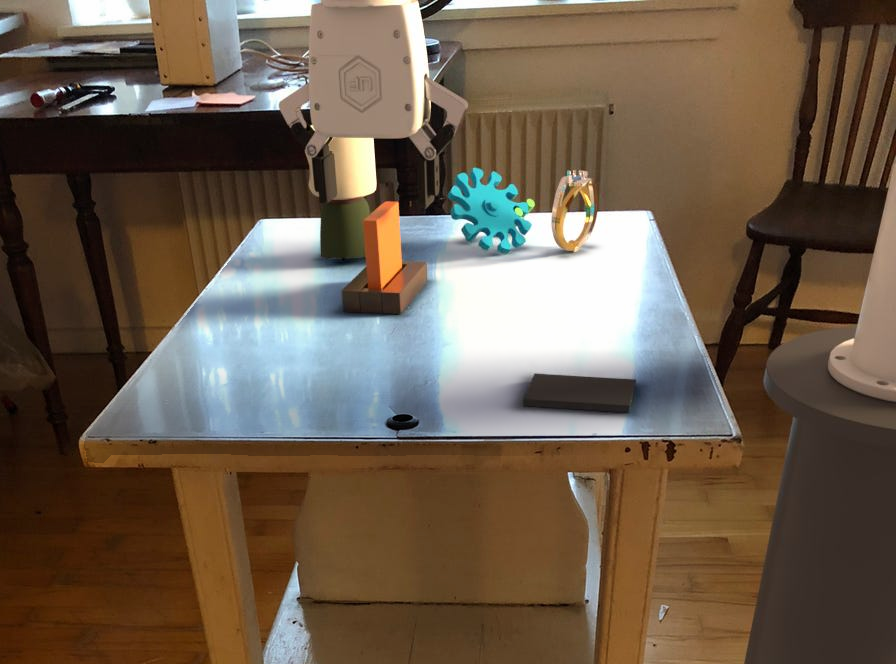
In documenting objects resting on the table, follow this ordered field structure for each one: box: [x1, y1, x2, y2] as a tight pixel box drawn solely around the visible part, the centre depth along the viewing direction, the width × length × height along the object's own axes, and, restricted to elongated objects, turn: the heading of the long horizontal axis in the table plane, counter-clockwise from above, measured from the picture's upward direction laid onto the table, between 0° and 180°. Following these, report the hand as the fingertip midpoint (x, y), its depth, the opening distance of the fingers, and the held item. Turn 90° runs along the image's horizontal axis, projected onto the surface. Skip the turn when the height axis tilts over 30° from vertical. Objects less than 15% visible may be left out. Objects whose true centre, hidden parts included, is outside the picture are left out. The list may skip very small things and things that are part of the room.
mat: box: [522, 373, 637, 414], centre depth 75 cm, size 8×5×1 cm, turn 74°
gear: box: [447, 167, 536, 255], centre depth 108 cm, size 11×6×10 cm
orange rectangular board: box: [363, 201, 403, 289], centre depth 94 cm, size 1×7×8 cm, turn 164°
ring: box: [550, 169, 599, 253], centre depth 103 cm, size 7×3×8 cm, turn 134°
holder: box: [340, 260, 429, 315], centre depth 96 cm, size 6×10×2 cm, turn 164°
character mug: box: [304, 124, 377, 263], centre depth 103 cm, size 11×7×13 cm, turn 158°
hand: (377, 202), depth 91 cm, fingers open, 9 cm apart
